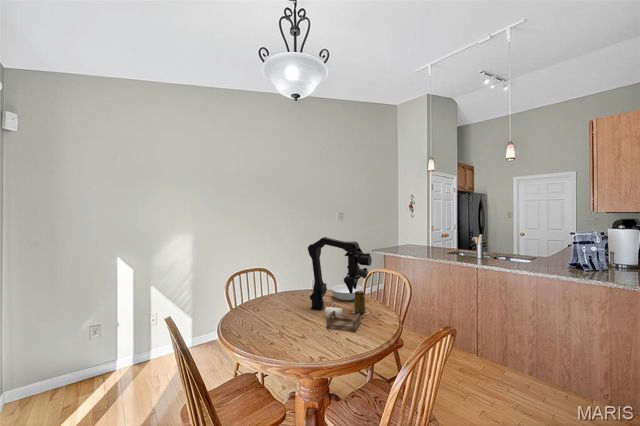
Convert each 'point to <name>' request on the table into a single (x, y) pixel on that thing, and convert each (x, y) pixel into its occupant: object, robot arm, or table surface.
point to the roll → (337, 310)
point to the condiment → (359, 303)
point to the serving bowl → (344, 292)
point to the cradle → (343, 323)
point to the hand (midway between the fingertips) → (353, 291)
